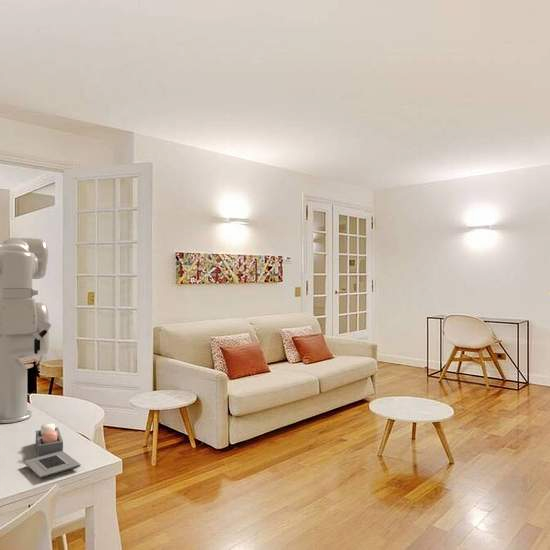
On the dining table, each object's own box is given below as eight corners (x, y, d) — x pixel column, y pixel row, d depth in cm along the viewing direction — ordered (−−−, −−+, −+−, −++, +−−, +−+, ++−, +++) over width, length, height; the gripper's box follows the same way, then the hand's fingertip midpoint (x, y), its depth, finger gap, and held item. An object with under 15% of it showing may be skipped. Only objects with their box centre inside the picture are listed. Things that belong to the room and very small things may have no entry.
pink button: (42, 444, 139) (42, 431, 138) (56, 442, 141) (56, 429, 141) (43, 449, 135) (43, 435, 135) (57, 446, 137) (58, 433, 137)
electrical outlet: (80, 471, 126) (80, 463, 126) (39, 484, 119) (39, 475, 119) (62, 457, 136) (62, 449, 136) (23, 468, 128) (23, 459, 128)
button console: (35, 443, 145) (35, 430, 145) (57, 439, 149) (57, 427, 148) (38, 459, 133) (38, 445, 133) (62, 455, 137) (62, 441, 136)
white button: (40, 437, 145) (40, 424, 144) (54, 435, 147) (54, 422, 147) (41, 441, 141) (41, 428, 141) (55, 439, 143) (55, 426, 143)
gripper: (49, 293, 137) (49, 350, 137) (-19, 294, 128) (-19, 355, 129) (52, 294, 131) (51, 354, 131) (-20, 296, 122) (-20, 359, 122)
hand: (16, 354), depth 130 cm, fingers open, 9 cm apart
